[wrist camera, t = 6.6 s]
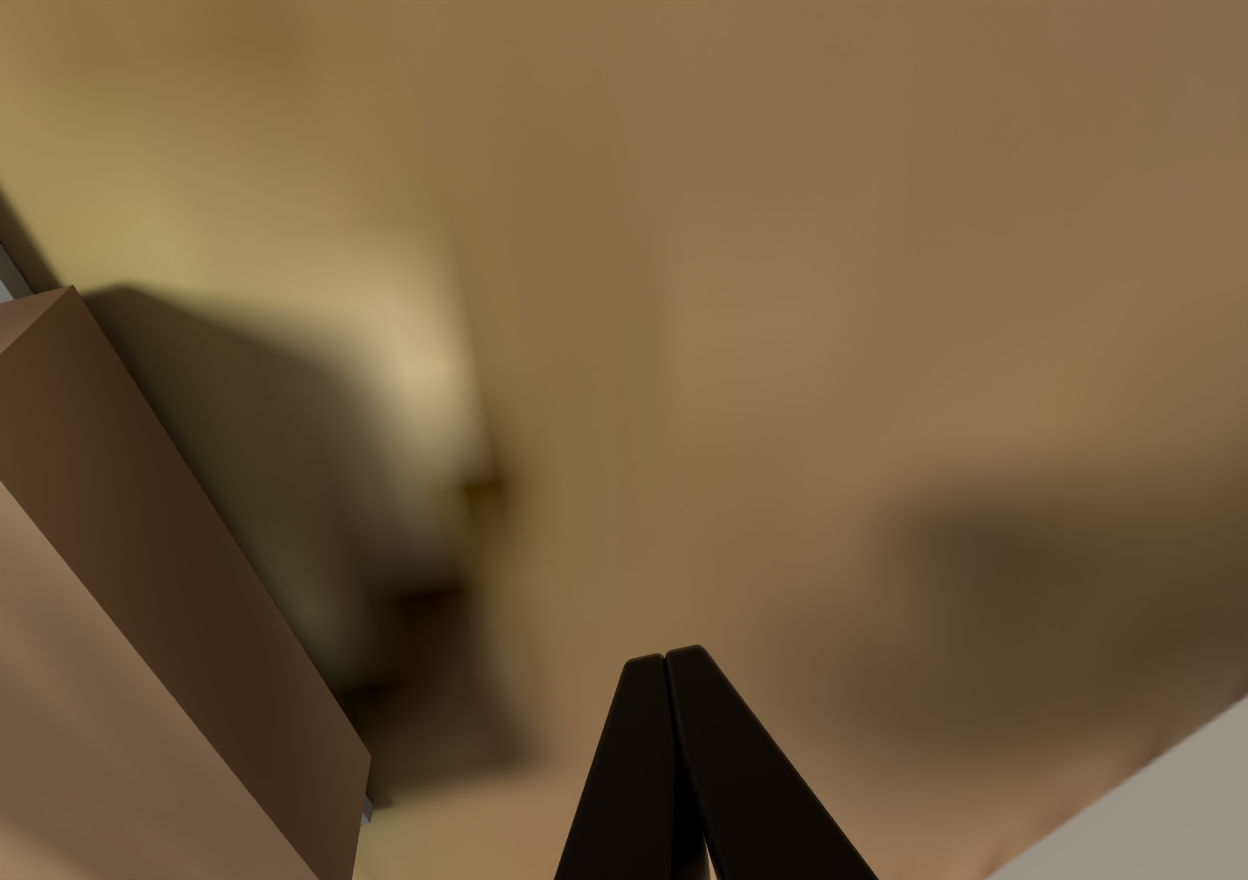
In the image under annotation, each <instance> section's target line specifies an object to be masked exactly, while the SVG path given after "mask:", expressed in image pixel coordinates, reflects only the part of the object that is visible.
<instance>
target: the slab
mask: <svg viewBox="0 0 1248 880" xmlns="http://www.w3.org/2000/svg"><path fill="white" fill-rule="evenodd" d="M370 761H371V755H370V753H369V752H368V750H367V748H366V747H365V745H364V744H363V742H362V741H361V739H360V737H359V736H358V734H357V733H356V731H355V729H354V728H353V726H352V725H351V723H350V722H349V720H348V718H347V717H346V715H345V714H344V712H343V711H342V709H341V707H340V706H339V704H338V703H337V701H336V699H335V698H334V696H333V695H332V693H331V692H330V690H329V688H328V687H327V685H326V684H325V682H324V680H323V679H322V677H321V676H320V674H319V673H318V671H317V669H316V668H315V666H314V665H313V663H312V662H311V660H310V658H309V657H308V655H307V654H306V652H305V650H304V649H303V647H302V646H301V644H300V643H299V641H298V639H297V638H296V636H295V635H294V633H293V632H292V630H291V628H290V627H289V625H288V624H287V622H286V620H285V619H284V617H283V616H282V614H281V613H280V611H279V609H278V608H277V606H276V605H275V603H274V601H273V600H272V598H271V597H270V595H269V594H268V592H267V590H266V589H265V587H264V586H263V584H262V583H261V581H260V579H259V578H258V576H257V575H256V573H255V571H254V570H253V568H252V567H251V565H250V564H249V562H248V560H247V559H246V557H245V556H244V554H243V552H242V551H241V549H240V548H239V546H238V545H237V543H236V541H235V540H234V538H233V537H232V535H231V534H230V532H229V530H228V529H227V527H226V526H225V524H224V522H223V521H222V519H221V518H220V516H219V515H218V513H217V511H216V510H215V508H214V507H213V505H212V504H211V502H210V500H209V499H208V497H207V496H206V494H205V492H204V491H203V489H202V488H201V486H200V485H199V483H198V481H197V480H196V478H195V477H194V475H193V473H192V472H191V470H190V469H189V467H188V466H187V464H186V462H185V461H184V459H183V458H182V456H181V455H180V453H179V451H178V450H177V448H176V447H175V445H174V443H173V442H172V440H171V439H170V437H169V436H168V434H167V432H166V431H165V429H164V428H163V426H162V425H161V423H160V421H159V420H158V418H157V417H156V415H155V413H154V412H153V410H152V409H151V407H150V406H149V404H148V402H147V401H146V399H145V398H144V396H143V394H142V393H141V391H140V390H139V388H138V387H137V385H136V383H135V382H134V380H133V379H132V377H131V376H130V374H129V372H128V371H127V369H126V368H125V366H124V364H123V363H122V361H121V360H120V358H119V357H118V355H117V353H116V352H115V350H114V349H113V347H112V346H111V344H110V342H109V341H108V339H107V338H106V336H105V334H104V333H103V331H102V330H101V328H100V327H99V325H98V323H97V322H96V320H95V319H94V317H93V315H92V314H91V312H90V311H89V309H88V308H87V306H86V304H85V303H84V301H83V300H82V298H81V297H80V295H79V293H78V292H77V290H76V289H75V287H74V285H70V286H66V287H62V288H58V289H54V290H50V291H46V292H42V293H38V294H35V295H31V296H27V297H23V298H19V299H15V300H11V301H7V302H3V303H0V880H352V875H353V868H354V862H355V856H356V850H357V843H358V837H359V831H360V824H361V818H362V812H363V805H364V799H365V793H366V787H367V780H368V774H369V768H370Z"/></svg>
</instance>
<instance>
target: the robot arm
mask: <svg viewBox="0 0 1248 880" xmlns="http://www.w3.org/2000/svg"><path fill="white" fill-rule="evenodd" d="M706 844H707V847H706ZM707 848H708V851H709V855H710V858H711V861H712V865H713V868H714V872H715V875H716V878H717V880H879V879H878V878H877V876H876V875H875V874H874V872H873V871H872V870H871V868H870V867H869V866H868V864H867V863H866V862H865V860H864V859H863V858H862V856H861V855H860V854H859V852H858V851H857V850H856V848H855V847H854V846H853V844H852V843H851V842H850V840H849V839H848V838H847V836H846V835H845V834H844V833H843V831H842V830H841V829H840V827H839V826H838V825H837V823H836V822H835V821H834V819H833V818H832V817H831V815H830V814H829V813H828V811H827V810H826V809H825V807H824V806H823V805H822V803H821V802H820V801H819V799H818V798H817V797H816V795H815V794H814V793H813V791H812V790H811V789H810V787H809V786H808V785H807V783H806V782H805V781H804V779H803V778H802V777H801V775H800V774H799V773H798V771H797V770H796V769H795V768H794V766H793V765H792V764H791V762H790V761H789V760H788V758H787V757H786V756H785V754H784V753H783V752H782V750H781V749H780V748H779V746H778V745H777V744H776V742H775V741H774V740H773V738H772V737H771V736H770V734H769V733H768V732H767V730H766V729H765V728H764V726H763V725H762V724H761V722H760V721H759V720H758V718H757V717H756V716H755V714H754V713H753V712H752V710H751V709H750V708H749V707H748V705H747V704H746V703H745V701H744V700H743V699H742V697H741V696H740V695H739V693H738V692H737V691H736V689H735V688H734V687H733V685H732V684H731V683H730V681H729V680H728V679H727V677H726V676H725V675H724V673H723V672H722V671H721V669H720V668H719V667H718V665H717V664H716V663H715V661H714V660H713V659H712V657H711V656H710V655H709V653H708V652H707V651H706V650H705V649H704V648H703V647H702V646H701V645H692V646H687V647H682V648H678V649H673V650H670V651H668V652H667V653H666V655H665V658H664V656H663V655H661V654H659V653H655V654H651V655H646V656H642V657H637V658H633V659H630V660H628V661H627V662H626V663H625V665H624V667H623V670H622V673H621V676H620V679H619V682H618V685H617V688H616V691H615V694H614V697H613V700H612V704H611V707H610V710H609V713H608V716H607V719H606V722H605V725H604V728H603V731H602V734H601V737H600V740H599V743H598V746H597V749H596V752H595V755H594V759H593V762H592V765H591V768H590V771H589V774H588V777H587V780H586V783H585V786H584V789H583V792H582V795H581V798H580V801H579V804H578V807H577V810H576V813H575V817H574V820H573V823H572V826H571V829H570V832H569V835H568V838H567V841H566V844H565V847H564V850H563V853H562V856H561V859H560V862H559V865H558V868H557V871H556V875H555V878H554V880H711V879H710V870H709V861H708V853H707Z"/></svg>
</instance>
